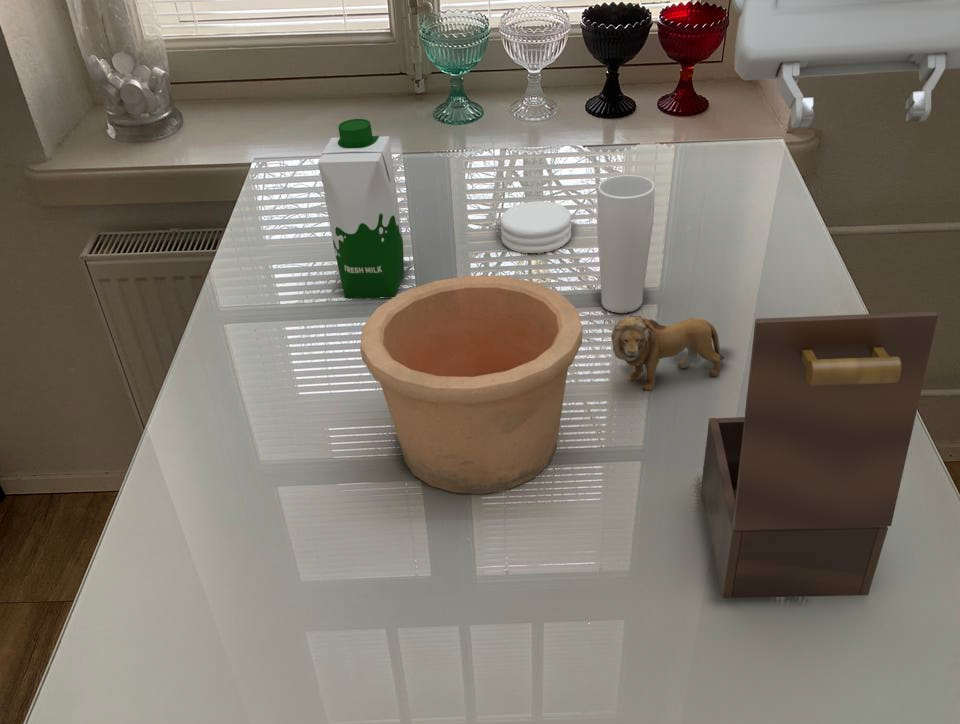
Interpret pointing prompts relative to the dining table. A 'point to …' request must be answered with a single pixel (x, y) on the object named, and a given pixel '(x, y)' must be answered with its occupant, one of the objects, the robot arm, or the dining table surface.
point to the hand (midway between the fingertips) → (860, 121)
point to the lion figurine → (664, 344)
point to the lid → (830, 419)
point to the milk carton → (363, 211)
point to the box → (778, 538)
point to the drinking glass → (624, 239)
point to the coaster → (536, 227)
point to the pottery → (474, 377)
